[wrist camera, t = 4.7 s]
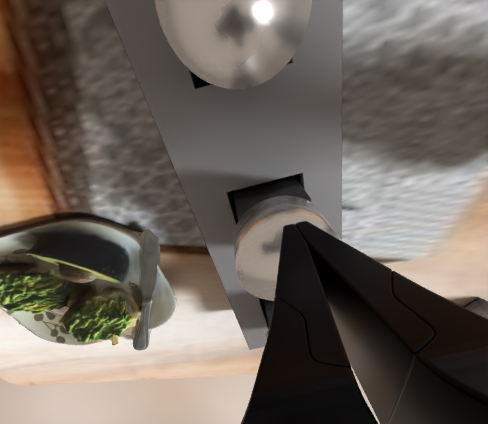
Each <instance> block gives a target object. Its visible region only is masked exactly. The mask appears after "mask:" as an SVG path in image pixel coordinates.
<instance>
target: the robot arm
mask: <svg viewBox="0 0 488 424" xmlns="http://www.w3.org/2000/svg"><path fill="white" fill-rule="evenodd" d="M350 364H351V365H350ZM351 366H352V368H353V370H354V372H355V374H356V376H357V378H358V380H359V382H360V384H361V386H362V388H363V390H364V392H365V394H366V396H367V398H368V400H369V402H370V404H371V406H372V408H373V410H374V412H375V414H376V416H377V418H378V420H379V422H380V424H488V319H487V318H485V317H483V316H481V315H479V314H477V313H475V312H473V311H471V310H468V309H466V308H464V307H462V306H460V305H458V304H456V303H454V302H452V301H450V300H448V299H446V298H444V297H442V296H440V295H438V294H436V293H434V292H432V291H430V290H428V289H426V288H424V287H422V286H420V285H418V284H417V283H415V282H413V281H411V280H409V279H407V278H406V277H404V276H402V275H400V274H399V273H397V272H395V271H392V270H391V269H390V268H388V267H386V266H384V265H383V264H381V263H379V262H378V261H376V260H374V259H372V258H371V257H369V256H367V255H365V254H364V253H362V252H360V251H358V250H357V249H355V248H353V247H351V246H350V245H348V244H346V243H344V242H343V241H341V240H339V239H337V238H336V237H334V236H332V235H330V234H329V233H327V232H325V231H323V230H322V229H320V228H318V227H317V226H315V225H313V224H311V223H310V222H308V221H302V222H298V223H296V224H289V225H285V226H284V227H283V233H282V241H281V249H280V257H279V265H278V274H277V282H276V290H275V298H274V305H273V312H272V318H271V324H270V328H269V332H268V337H267V341H266V345H265V348H264V352H263V355H262V359H261V363H260V366H259V370H258V373H257V377H256V381H255V384H254V388H253V391H252V394H251V398H250V401H249V404H248V407H247V410H246V412H245V415H244V417H243V420H242V422H241V424H378V422H377V421H376V419H375V417H374V415H373V414H372V412H371V410H370V409H369V407H368V405H367V403H366V402H365V400H364V398H363V396H362V393H361V391H360V389H359V387H358V384H357V382H356V379H355V377H354V374H353V371H352V369H351Z"/></svg>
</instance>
